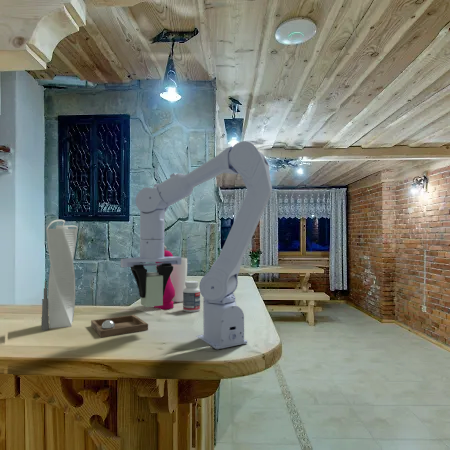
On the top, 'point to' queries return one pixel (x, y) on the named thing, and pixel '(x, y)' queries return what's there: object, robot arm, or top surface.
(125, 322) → the tray
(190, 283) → the pill bottle
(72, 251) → the skyscraper
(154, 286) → the spice tin
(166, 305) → the pepper mill
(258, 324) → the top surface
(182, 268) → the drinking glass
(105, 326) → the steel ball
